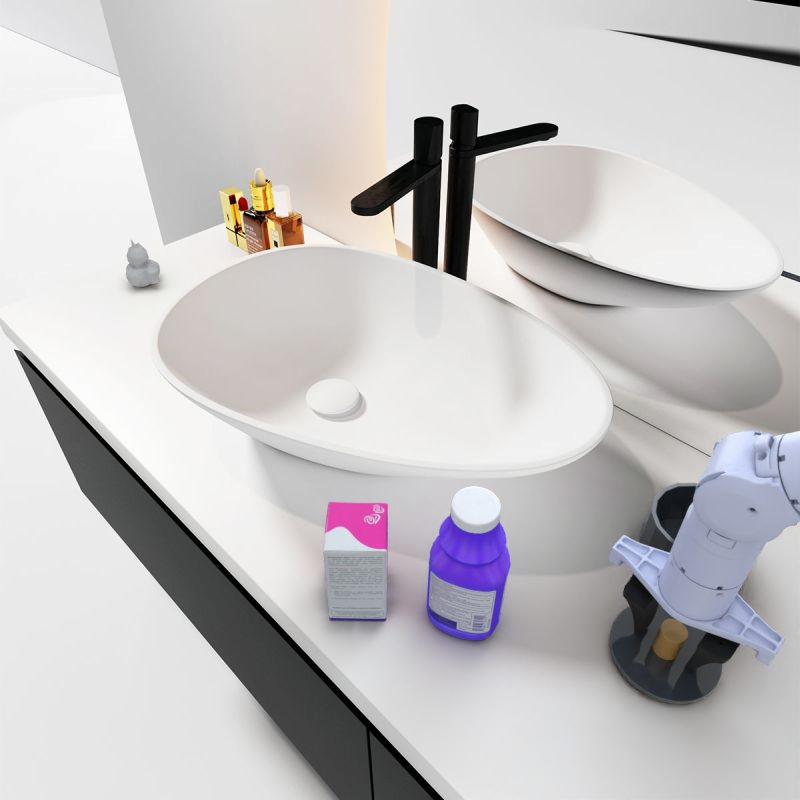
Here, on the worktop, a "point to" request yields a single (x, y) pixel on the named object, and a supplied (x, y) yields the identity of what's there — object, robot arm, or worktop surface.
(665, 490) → the pot
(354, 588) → the supplement box
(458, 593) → the bottle
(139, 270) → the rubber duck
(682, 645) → the lid
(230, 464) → the worktop surface
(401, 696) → the worktop surface
